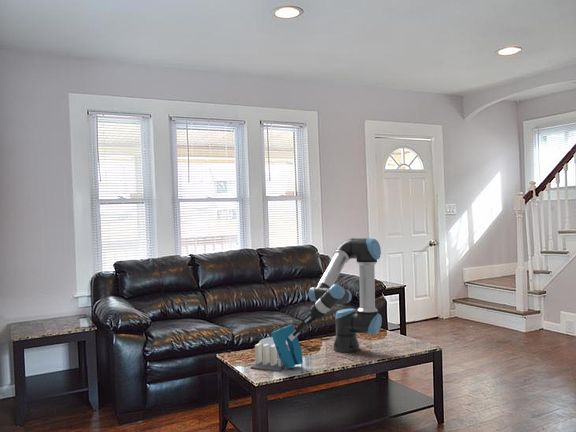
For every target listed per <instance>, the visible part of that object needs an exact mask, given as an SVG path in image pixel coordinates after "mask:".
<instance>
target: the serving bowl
mask: <svg viewBox="0 0 576 432" xmlns="http://www.w3.org/2000/svg"><path fill="white" fill-rule="evenodd" d="M258 343H262V346H263V345H265V344H269V352H270V346H272V345H274V344H275V343H274V340H273V337H272V336H269V337H265V338H262V339H261V340H259V342H258ZM286 344H287V347H288V350H289V351H290V349H289V346H288V343H287V340H286ZM262 351H263V348H262ZM277 356H278V352H277Z"/></svg>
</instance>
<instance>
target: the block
mask: <svg viewBox="0 0 576 432" xmlns="http://www.w3.org/2000/svg"><path fill="white" fill-rule="evenodd" d="M295 330H296V329H295V327H294V324H289V325H287V326H284V327H281V328H278V329H277V330H274V331H272V332H271V333H270V335H271V337H273V340H274V343H275V346H276V349H277V352H278V355H279V358H280V360H281V361H282V363H283V364H284V366H285V368H284V369H286V370H289V369H292V368H294V367H296V365H297V366H298V365H301V364H303V363H304V362H303V352H302V347H301V345H300V341H299V339H298V336H297V337H296V338H295V339H294V340H293V341H291V340H290V339H289V338H288V337H289V336H290V335H291V334H292V333H293V332H294V331H295ZM286 340H287V343H288V346H289V349H290V351H289V350H288V347H287V344H286ZM278 355H277V356H278Z"/></svg>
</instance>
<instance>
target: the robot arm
mask: <svg viewBox="0 0 576 432" xmlns="http://www.w3.org/2000/svg"><path fill="white" fill-rule="evenodd" d="M332 255H333V257H332V258H331V260H330V263H329V264H328V265H327V268H326V270H324V271H325V272H324V273H323V274H322V276H321V278H320V280H319V282H318V283H317V285H316V286H312V287H310V288H309V289H308V290H309V291H308V297H309V300H310V301H311V302H315V303H314V304H312V305H311V307H310V309H309V311H310V313H308V314H307V315H306V317H305V318H304V319H303V320H302V321H301V322H300V324H298V326H297V327H294V329H295V331H294V332H293V333H292V334H291V335H290V336H289V337H288V338H289V339H290V340H291V341H293V340H294V339H295V338H296V337H297V338H298V336H299V335H300V334H301V333H303V332H304V330H305V329H306V328H307V327H308V326H309V325H311V324H312V323H313V322H314V321H315V320H316V319H317V320H321V319H322V318H323V317H324V316H325V315H326V314H327V313H328V312H331V309H332V308H333V307H334V306H335V305H336V304H341V305H342V304H343V305H344V304H349V303H350V302H351V301H352V297H353V296H352V293H351V291H350V290H349V289H348V288H347V289H346V288H344V287H342V286H341V285H340V284H338V283H336V281H337V279H338V277H339V276H340V274H341V272H342V269H343V268H344V267H345V264H346V263H348V262H349V260H351V259H355V260H356V264H357V265H358V268H359V270H358V273H359V276H358V277H359V280H358V281H359V307H358V308H357V309H355V308H343V309H340V310H337V311H336V312H335V318H334V319H335V339H334V342H333V346H332V347H333V351H335V352H339V353H348V354H349V353H355V352H358V351H359V350H360V344H359V341H358V338H357V334H365V335H377V334H378V333H379V332H380V329H381V327H382V321H383V317H382V315H381V314H380V313H379V310H378V309H377V308H376V295H375V294H376V290H375V289H376V288H375V287H376V283H375V281H376V280H375V278H376V277H375V276H376V275H375V265H376V264H377V263H378V260H380V258H381V255H382V250H381V245H380V243H379V241H378V240H377V239H376V238H371V237H370V238H369V237H367V238H361V237H360V238H357V237H356V238H355V237H353V238H348V239H346V240H344V241H343V242H341V243H340V244H339V245H338V246H337V247H336V248H335V249H334V252H333V254H332Z"/></svg>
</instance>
